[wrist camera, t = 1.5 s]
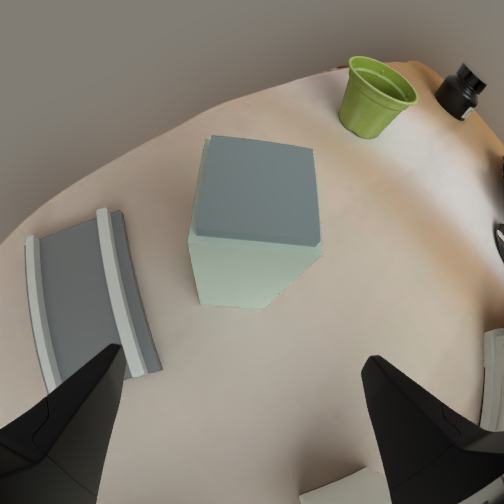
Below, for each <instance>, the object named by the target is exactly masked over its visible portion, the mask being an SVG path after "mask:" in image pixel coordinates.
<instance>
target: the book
mask: <svg viewBox="0 0 504 504" xmlns="http://www.w3.org/2000/svg"><path fill="white" fill-rule="evenodd" d="M484 367H485V385H484V398H483V408H482V416H481V423H480V427H481V428H483V429H485V430H487V431H492V432H499V431H504V328H499V329H494V330H491V331H488V332H485V333H484Z"/></svg>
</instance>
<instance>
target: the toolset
mask: <svg viewBox="0 0 504 504" xmlns="http://www.w3.org/2000/svg"><path fill="white" fill-rule="evenodd" d="M503 157H504V156H503ZM501 171H502V174H503V177H504V163H503V169H501ZM497 230H500V231H501V232H502V234H503V235H504V224H502V223H500V224H499V225H498V226H497V229H496V237H497V242H498V246H499V250H500V253H501V256H502V257H503V260H504V241H503V240H502V239H501V238H500V237H499V236H498V234H497Z"/></svg>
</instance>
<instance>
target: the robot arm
mask: <svg viewBox="0 0 504 504" xmlns="http://www.w3.org/2000/svg"><path fill="white" fill-rule="evenodd" d="M125 370H126V357H125V353H124V349H123V346H122V345H121V344H116V343H111V344H109V345H108V346H107V347H105V348H104V349H103V350H102V351H100V352H99V353H98V354H97V355H96V356H94V357H93V358H92V359H91V360H89V361H88V362H87V363H86V364H84V365H83V366H82V367H81V368H80V369H78V370H77V371H76V372H75V373H74V374H72V375H71V376H70V377H69V378H67V379H66V380H65V381H64V382H63V383H61V384H60V385H59V386H58V387H57V388H55V389H54V390H53V391H52V392H51V393H49V394H48V395H47V397H45V398H43V399H42V400H41V401H40V402H39V403H37V404H36V405H35V406H34V407H32V408H31V409H30V410H28V411H27V412H25V413H24V414H23V415H21V416H20V417H18V418H17V419H15V420H14V421H12V422H11V423H9V424H8V425H6V426H4V427H3V428H1V429H0V504H96V501H97V495H98V490H99V485H100V480H101V475H102V470H103V466H104V461H105V457H106V453H107V449H108V445H109V441H110V437H111V433H112V429H113V425H114V422H115V418H116V414H117V411H118V407H119V403H120V398H121V393H122V387H123V381H124V375H125ZM361 377H362V382H363V387H364V393H365V398H366V403H367V408H368V412H369V415H370V419H371V422H372V426H373V429H374V433H375V436H376V440H377V444H378V447H379V451H380V455H381V459H382V463H383V467H384V471H385V475H386V479H387V484H388V488H389V491H390V492H389V493H390V498H391V503H392V504H504V431H499V432H492V431H487V430H485V429H483V428H481V427H479V426H478V425H476V424H474V423H473V422H471V421H469V420H468V419H466V418H464V417H463V416H461V415H460V414H458V413H456V412H455V411H454V410H452V409H451V408H449V407H448V406H447V405H445V404H444V403H443V402H441V401H440V400H439V399H437V398H436V397H435V396H433V395H432V394H431V393H429V392H428V391H426V390H425V389H424V388H422V387H421V386H420V385H418V384H417V383H416V382H414V381H413V380H412V379H410V378H409V377H408V376H406V375H405V374H404V373H402V372H401V371H400V370H398V369H397V368H396V367H395V366H393V365H392V364H391V363H389V362H388V361H387V360H385V359H384V358H383V357H381V356H379V355H374V356H370V357H369V358H368V359H367V361H366V363H365V365H364V367H363V369H362V371H361Z"/></svg>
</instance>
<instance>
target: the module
mask: <svg viewBox="0 0 504 504" xmlns="http://www.w3.org/2000/svg"><path fill="white" fill-rule="evenodd" d="M188 247H189V252H190V257H191V262H192V267H193V272H194V277H195V282H196V287H197V291H198V296H199V301H200V304H201V305H212V306H224V307H237V308H251V309H263V308H264V307H265V306H266V305H268V304H269V303H270V302H271V301H272V300H273V299H275V298H276V297H277V296H278V295H279V294H280V293H281V292H283V291H284V290H285V289H286V288H287V287H288V286H289V285H290V284H292V283H293V282H294V281H295V280H296V279H297V278H298V277H299V276H300V275H302V274H303V273H304V272H305V271H306V270H307V269H308V268H309V267H310V266H311V265H313V264H314V263H315V262H316V261H317V260H318V259H319V258H320V257H321V256H322V255H323V252H322V234H321V219H320V206H319V194H318V184H317V174H316V164H315V155H314V154H313V149H310V148H304V147H299V146H293V145H287V144H280V143H274V142H267V141H260V140H252V139H244V138H235V137H225V136H214V135H212V136H211V140H209V139H205V144H204V149H203V154H202V159H201V164H200V169H199V175H198V181H197V186H196V192H195V198H194V204H193V210H192V217H191V223H190V230H189V237H188Z"/></svg>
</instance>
